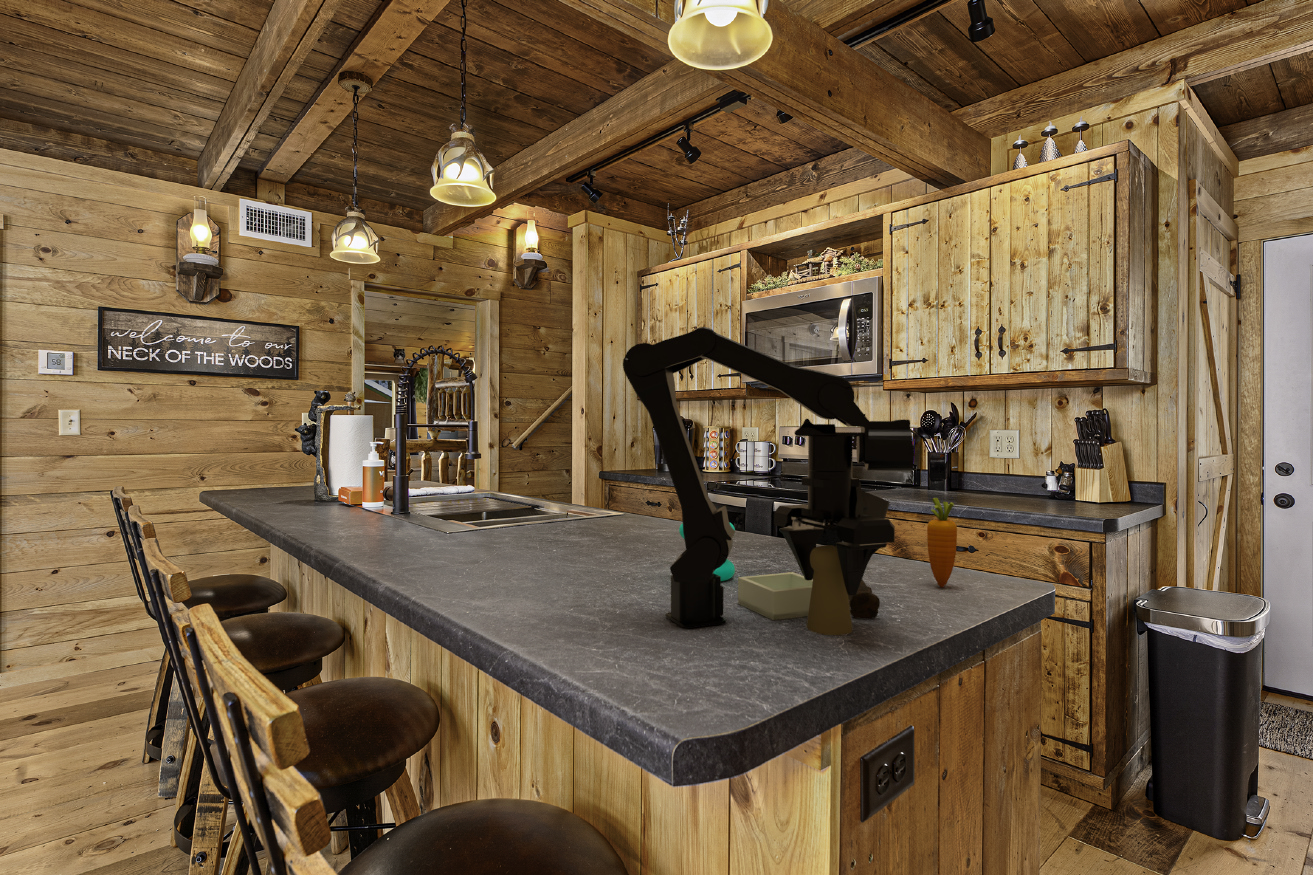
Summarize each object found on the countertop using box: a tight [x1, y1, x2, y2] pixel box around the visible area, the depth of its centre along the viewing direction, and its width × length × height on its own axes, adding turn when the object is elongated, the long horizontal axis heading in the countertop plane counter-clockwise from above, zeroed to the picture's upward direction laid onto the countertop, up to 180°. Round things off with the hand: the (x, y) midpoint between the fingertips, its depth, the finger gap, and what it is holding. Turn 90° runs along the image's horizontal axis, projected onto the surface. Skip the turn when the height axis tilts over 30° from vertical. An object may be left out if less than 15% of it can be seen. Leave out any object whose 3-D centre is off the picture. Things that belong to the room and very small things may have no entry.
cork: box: [806, 544, 854, 636], centre depth 91 cm, size 6×6×11 cm
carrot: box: [926, 497, 958, 589], centre depth 114 cm, size 5×5×15 cm
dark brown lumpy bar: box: [848, 579, 881, 620], centre depth 105 cm, size 19×4×5 cm, turn 168°
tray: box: [737, 571, 813, 621], centre depth 101 cm, size 10×10×4 cm
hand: (829, 587), depth 91 cm, fingers open, 9 cm apart
